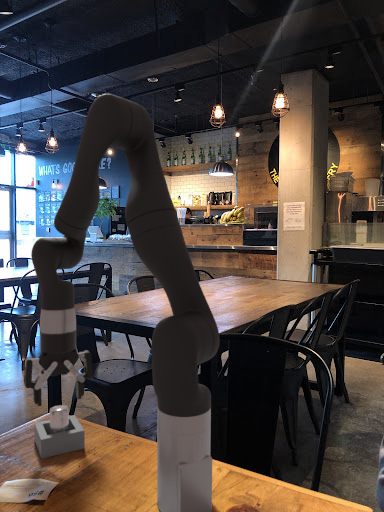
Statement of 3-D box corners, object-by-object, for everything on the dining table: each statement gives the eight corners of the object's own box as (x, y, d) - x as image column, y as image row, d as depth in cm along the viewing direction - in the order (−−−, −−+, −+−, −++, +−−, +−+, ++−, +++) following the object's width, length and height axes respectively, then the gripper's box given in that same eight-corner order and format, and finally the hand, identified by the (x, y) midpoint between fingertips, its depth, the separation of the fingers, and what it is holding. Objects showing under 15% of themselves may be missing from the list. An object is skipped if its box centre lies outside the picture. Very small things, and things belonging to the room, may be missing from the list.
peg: (70, 446, 93) (70, 410, 93) (51, 450, 91) (51, 414, 91) (66, 438, 97) (66, 404, 96) (48, 442, 95) (48, 407, 94)
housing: (84, 448, 92) (84, 430, 92) (41, 458, 88) (41, 439, 88) (74, 431, 100) (74, 415, 100) (34, 440, 96) (34, 422, 95)
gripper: (26, 335, 86) (27, 414, 87) (95, 328, 93) (96, 401, 93) (21, 328, 93) (22, 401, 93) (86, 322, 99) (87, 390, 100)
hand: (59, 401), depth 93 cm, fingers open, 8 cm apart
